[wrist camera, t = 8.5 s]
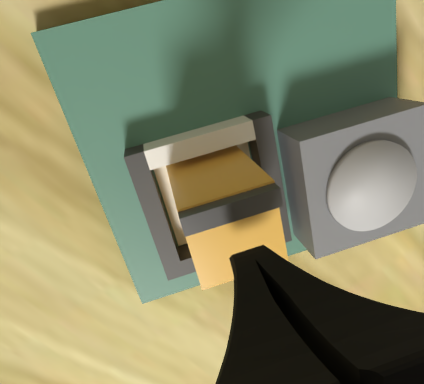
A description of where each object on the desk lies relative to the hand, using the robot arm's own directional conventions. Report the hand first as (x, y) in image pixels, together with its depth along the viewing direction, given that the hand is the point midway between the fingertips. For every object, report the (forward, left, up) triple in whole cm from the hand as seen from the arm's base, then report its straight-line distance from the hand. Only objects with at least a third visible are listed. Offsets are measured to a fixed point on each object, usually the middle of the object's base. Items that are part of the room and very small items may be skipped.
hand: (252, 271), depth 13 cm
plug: (0, 0, -8) cm, 8 cm away
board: (-3, -2, -9) cm, 10 cm away
